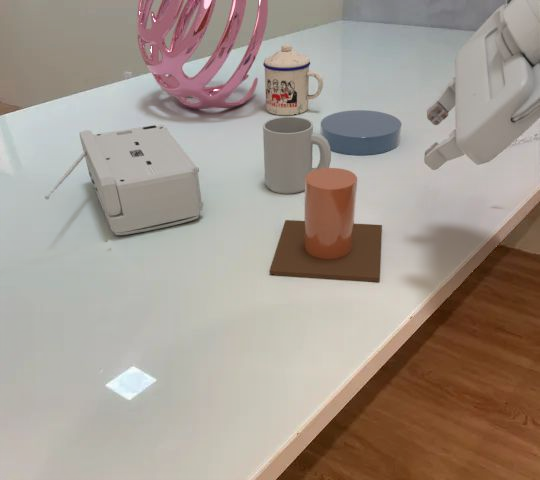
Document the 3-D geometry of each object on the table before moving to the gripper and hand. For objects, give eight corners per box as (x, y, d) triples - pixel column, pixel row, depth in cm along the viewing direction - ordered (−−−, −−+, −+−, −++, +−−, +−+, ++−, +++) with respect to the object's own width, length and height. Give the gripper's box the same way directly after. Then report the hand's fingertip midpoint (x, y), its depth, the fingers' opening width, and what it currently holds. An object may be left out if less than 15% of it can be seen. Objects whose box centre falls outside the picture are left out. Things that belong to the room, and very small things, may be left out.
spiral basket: (266, -25, 121) (162, -112, 101) (330, 33, 106) (224, -55, 87) (199, 91, 134) (96, 34, 114) (248, 156, 120) (140, 103, 100)
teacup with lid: (257, 113, 112) (254, 48, 104) (275, 100, 118) (273, 38, 110) (314, 120, 108) (315, 53, 100) (329, 105, 114) (331, 41, 107)
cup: (270, 173, 89) (268, 115, 83) (332, 177, 87) (335, 118, 82) (260, 192, 84) (257, 132, 78) (326, 197, 82) (328, 135, 76)
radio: (170, 167, 92) (46, 190, 87) (162, 115, 87) (29, 136, 82) (208, 220, 78) (61, 252, 72) (201, 162, 72) (42, 192, 67)
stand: (399, 127, 103) (401, 110, 101) (399, 156, 93) (401, 138, 91) (323, 125, 105) (324, 109, 103) (316, 153, 95) (316, 136, 93)
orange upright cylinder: (353, 236, 72) (358, 168, 66) (350, 261, 67) (355, 190, 62) (307, 234, 73) (308, 166, 67) (301, 257, 68) (301, 187, 62)
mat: (381, 228, 74) (382, 224, 74) (379, 282, 65) (379, 277, 64) (285, 223, 76) (285, 219, 76) (269, 274, 67) (269, 270, 66)
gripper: (585, 111, 46) (448, 213, 55) (556, 19, 58) (449, 114, 68) (538, 57, 43) (404, 173, 53) (518, -26, 56) (413, 79, 66)
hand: (429, 139), depth 61 cm, fingers open, 8 cm apart
